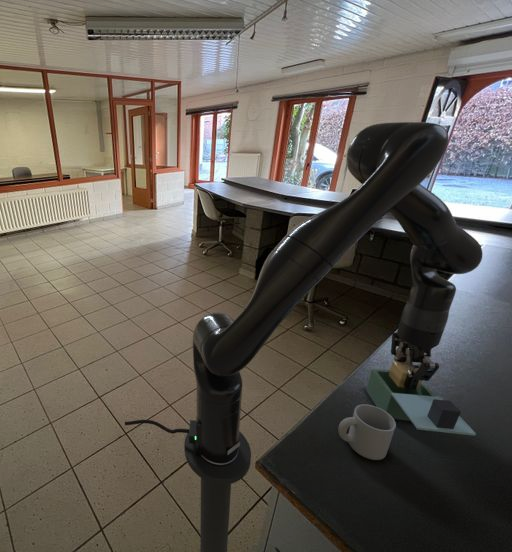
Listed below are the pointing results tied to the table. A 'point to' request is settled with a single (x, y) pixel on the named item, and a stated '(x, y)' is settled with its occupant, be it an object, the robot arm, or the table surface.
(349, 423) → the cup
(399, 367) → the block
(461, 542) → the table surface
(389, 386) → the display box
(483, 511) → the table surface
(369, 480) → the table surface
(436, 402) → the teal box lid
